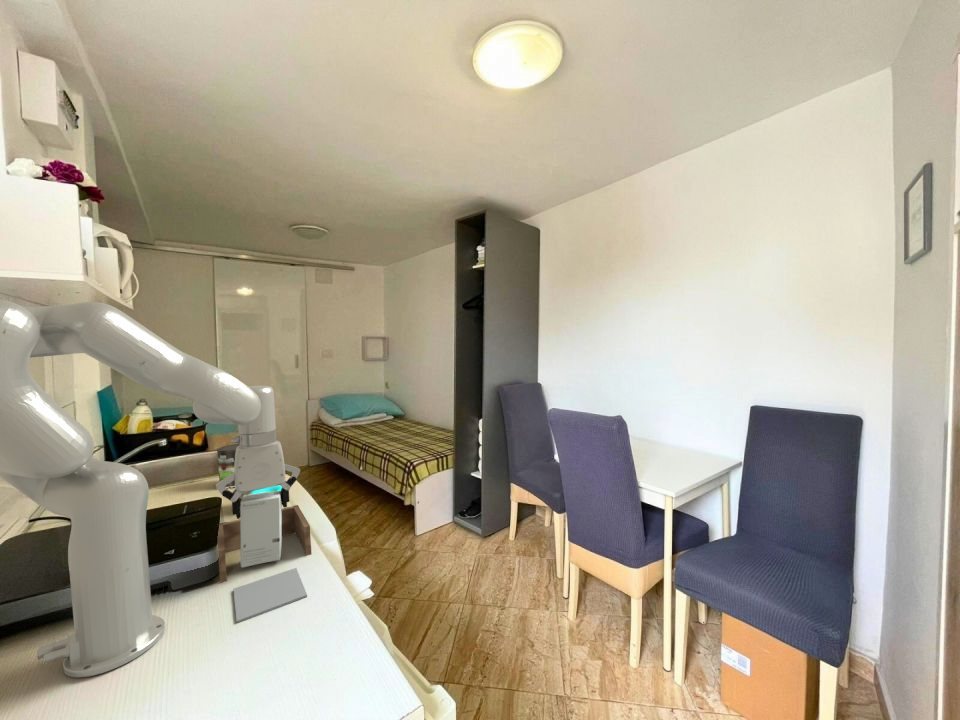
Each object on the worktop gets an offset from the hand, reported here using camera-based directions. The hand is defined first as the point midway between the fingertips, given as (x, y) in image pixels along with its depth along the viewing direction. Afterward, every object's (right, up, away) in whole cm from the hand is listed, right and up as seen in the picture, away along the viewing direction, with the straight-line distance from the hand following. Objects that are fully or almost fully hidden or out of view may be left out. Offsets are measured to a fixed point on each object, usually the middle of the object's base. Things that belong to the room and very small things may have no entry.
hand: (262, 511), depth 91 cm
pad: (+8, -12, -12) cm, 19 cm away
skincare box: (0, -11, 0) cm, 11 cm away
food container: (-21, -12, +34) cm, 42 cm away
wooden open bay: (-1, -12, +4) cm, 13 cm away
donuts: (-9, -12, +20) cm, 25 cm away
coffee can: (-41, -12, +56) cm, 70 cm away
